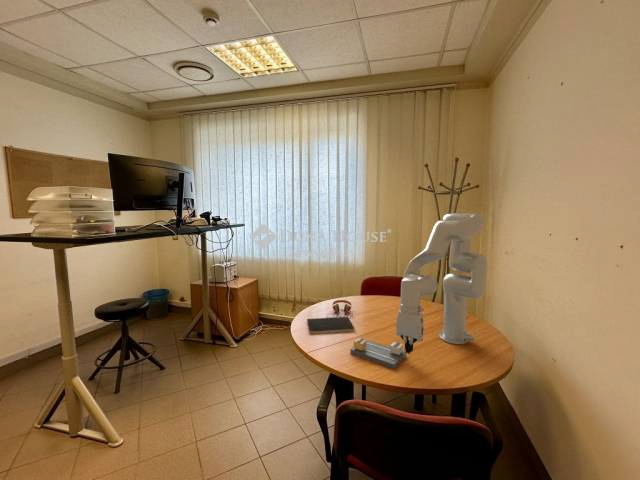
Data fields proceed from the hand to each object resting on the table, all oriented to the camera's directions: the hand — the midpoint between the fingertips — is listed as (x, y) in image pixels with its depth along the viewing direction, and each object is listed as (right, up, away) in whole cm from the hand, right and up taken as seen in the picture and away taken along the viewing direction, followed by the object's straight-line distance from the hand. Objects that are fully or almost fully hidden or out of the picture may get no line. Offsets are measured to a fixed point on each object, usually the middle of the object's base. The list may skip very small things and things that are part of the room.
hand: (408, 351), depth 116 cm
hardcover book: (-31, -1, +36) cm, 47 cm away
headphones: (-23, +1, +54) cm, 59 cm away
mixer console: (-12, -4, +6) cm, 13 cm away
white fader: (-4, -1, +3) cm, 6 cm away
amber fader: (-19, -1, +7) cm, 20 cm away
